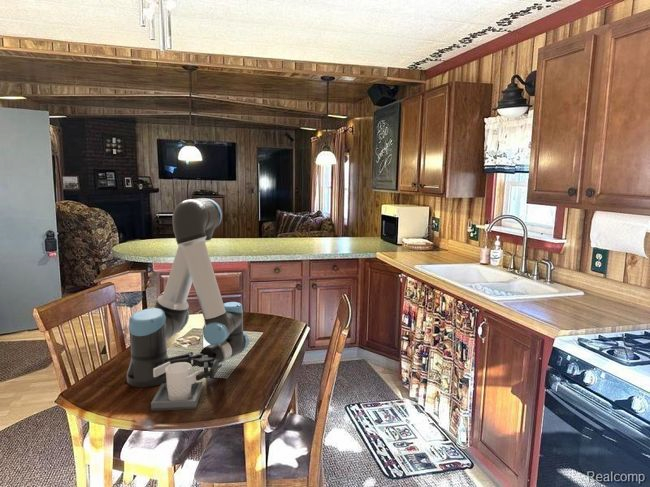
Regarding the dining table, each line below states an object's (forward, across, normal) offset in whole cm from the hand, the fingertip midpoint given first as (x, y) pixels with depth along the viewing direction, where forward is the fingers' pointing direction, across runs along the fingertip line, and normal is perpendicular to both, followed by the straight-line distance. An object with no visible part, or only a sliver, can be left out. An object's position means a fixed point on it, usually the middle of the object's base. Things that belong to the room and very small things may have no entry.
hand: (170, 377), depth 139 cm
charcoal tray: (-3, 0, -8) cm, 9 cm away
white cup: (-3, -1, -8) cm, 8 cm away
